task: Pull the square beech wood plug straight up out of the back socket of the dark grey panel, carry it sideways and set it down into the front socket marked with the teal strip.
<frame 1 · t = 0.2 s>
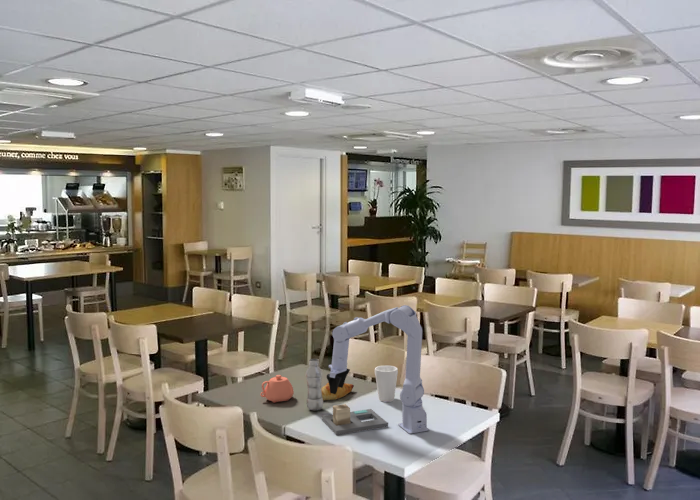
hand: (336, 390, 232), 10 cm above the table, tool pointing down, fingers open, 7 cm apart
foam cup: (386, 399, 251), on the table
plug: (341, 425, 223), resting in socket panel
croissant: (333, 396, 257), on the table
plastic bottle: (315, 410, 241), on the table
socket panel: (354, 423, 225), on the table
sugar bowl: (277, 400, 254), on the table
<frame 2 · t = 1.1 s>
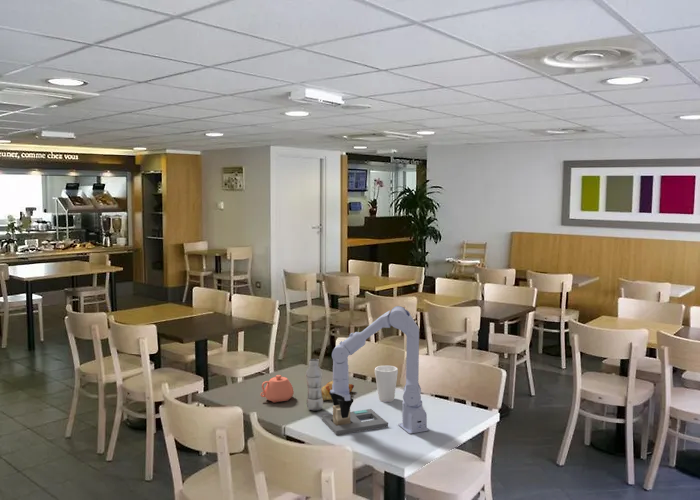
hand: (341, 414, 223), 4 cm above the table, tool pointing down, fingers open, 7 cm apart
nothing on the table moved.
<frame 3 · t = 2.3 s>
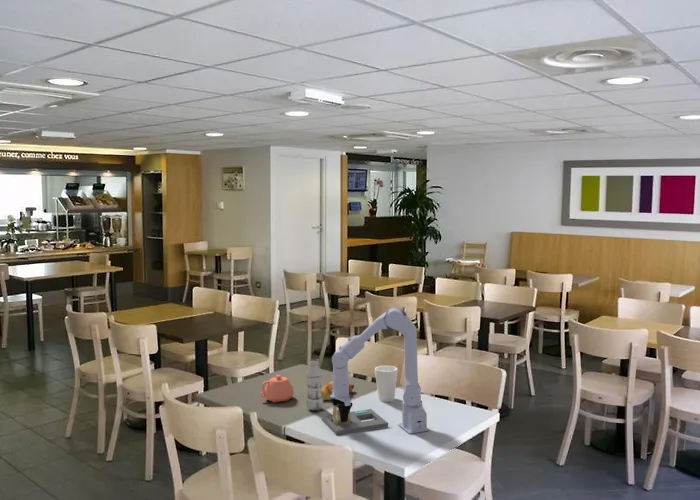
hand: (341, 418, 223), 2 cm above the table, tool pointing down, fingers closed on plug, 5 cm apart
plug: (341, 425, 223), resting in socket panel, touching gripper
everything else where it was.
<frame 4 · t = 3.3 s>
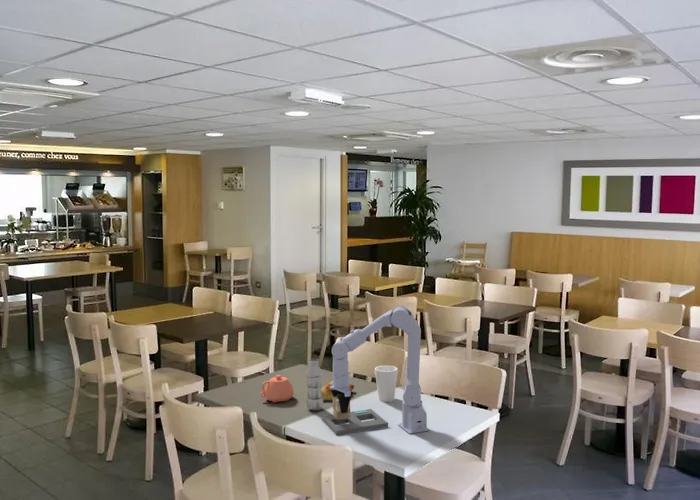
hand: (341, 410, 223), 6 cm above the table, tool pointing down, fingers closed on plug, 5 cm apart
plug: (341, 416, 223), point 3 cm above the table, touching gripper
everything else where it was.
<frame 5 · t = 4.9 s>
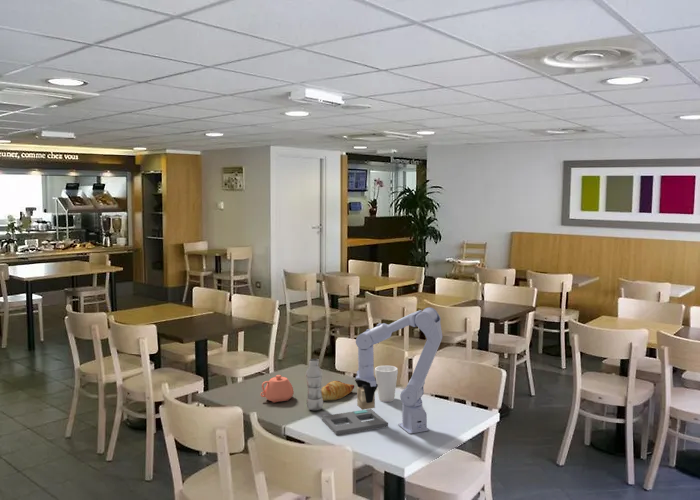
hand: (366, 400, 226), 8 cm above the table, tool pointing down, fingers closed on plug, 5 cm apart
plug: (366, 406, 226), point 6 cm above the table, touching gripper
everything else where it was.
when the fingers open (3 cm above the table, at t = 6.2 s): plug stays where it is, resting in socket panel.
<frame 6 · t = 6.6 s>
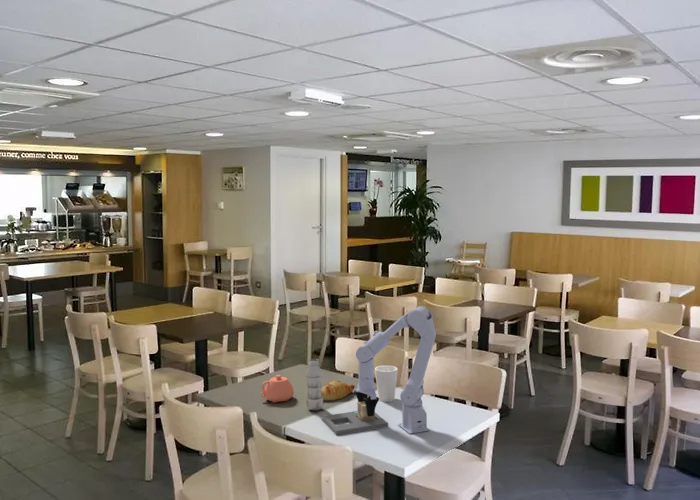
hand: (366, 412, 226), 3 cm above the table, tool pointing down, fingers open, 7 cm apart
plug: (366, 421, 227), resting in socket panel
everything else where it was.
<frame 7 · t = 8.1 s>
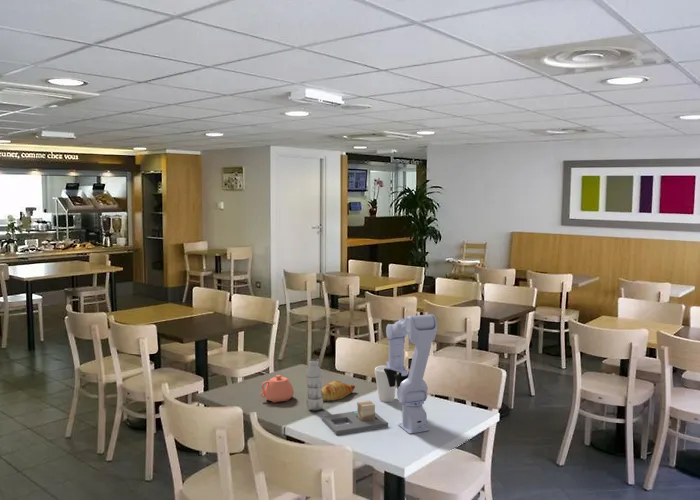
hand: (396, 389, 234), 9 cm above the table, tool pointing down, fingers open, 7 cm apart
nothing on the table moved.
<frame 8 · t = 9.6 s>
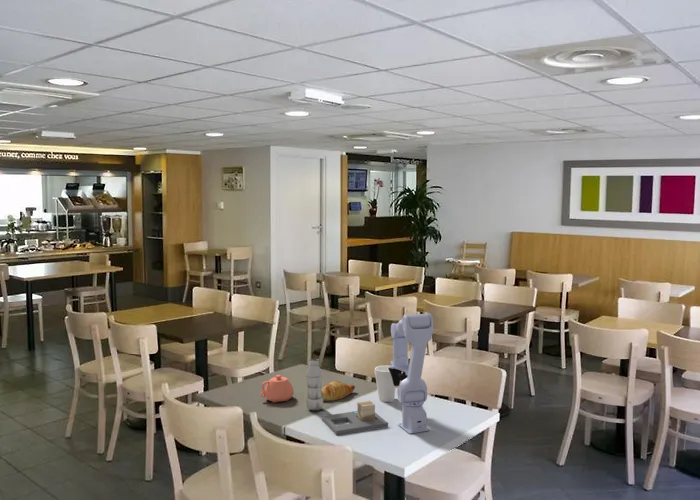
hand: (400, 388, 235), 9 cm above the table, tool pointing down, fingers open, 7 cm apart
nothing on the table moved.
at the end: plug 0.2 cm from the target spot on the socket panel, point 0.0 cm above the socket panel's base; plug tilted 0°; the gripper is holding nothing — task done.
